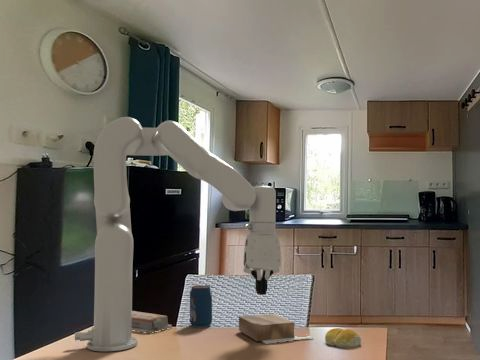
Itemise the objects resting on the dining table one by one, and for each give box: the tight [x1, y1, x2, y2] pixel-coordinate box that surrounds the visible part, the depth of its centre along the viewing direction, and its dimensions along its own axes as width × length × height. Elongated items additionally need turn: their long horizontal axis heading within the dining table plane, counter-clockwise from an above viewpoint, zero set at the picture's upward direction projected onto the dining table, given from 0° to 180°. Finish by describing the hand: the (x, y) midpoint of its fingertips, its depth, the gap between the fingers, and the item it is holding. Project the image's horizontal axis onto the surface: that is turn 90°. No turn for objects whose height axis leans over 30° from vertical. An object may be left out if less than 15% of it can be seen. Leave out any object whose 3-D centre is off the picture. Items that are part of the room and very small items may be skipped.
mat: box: [261, 335, 314, 345], centre depth 130 cm, size 14×18×1 cm
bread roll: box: [324, 327, 362, 349], centre depth 119 cm, size 8×9×4 cm
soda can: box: [189, 285, 213, 329], centre depth 144 cm, size 7×7×12 cm
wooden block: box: [238, 313, 295, 342], centre depth 129 cm, size 4×14×11 cm
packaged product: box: [132, 310, 173, 334], centre depth 141 cm, size 18×5×10 cm
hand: (261, 293), depth 130 cm, fingers closed
